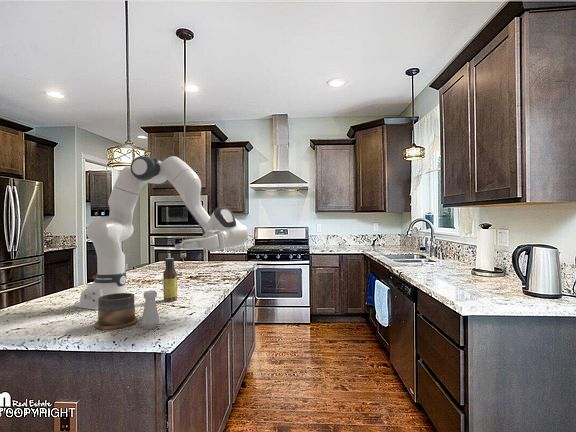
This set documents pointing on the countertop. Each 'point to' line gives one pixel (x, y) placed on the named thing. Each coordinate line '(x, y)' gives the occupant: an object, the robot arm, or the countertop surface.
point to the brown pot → (116, 311)
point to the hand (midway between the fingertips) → (180, 247)
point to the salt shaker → (150, 311)
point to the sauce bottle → (170, 281)
